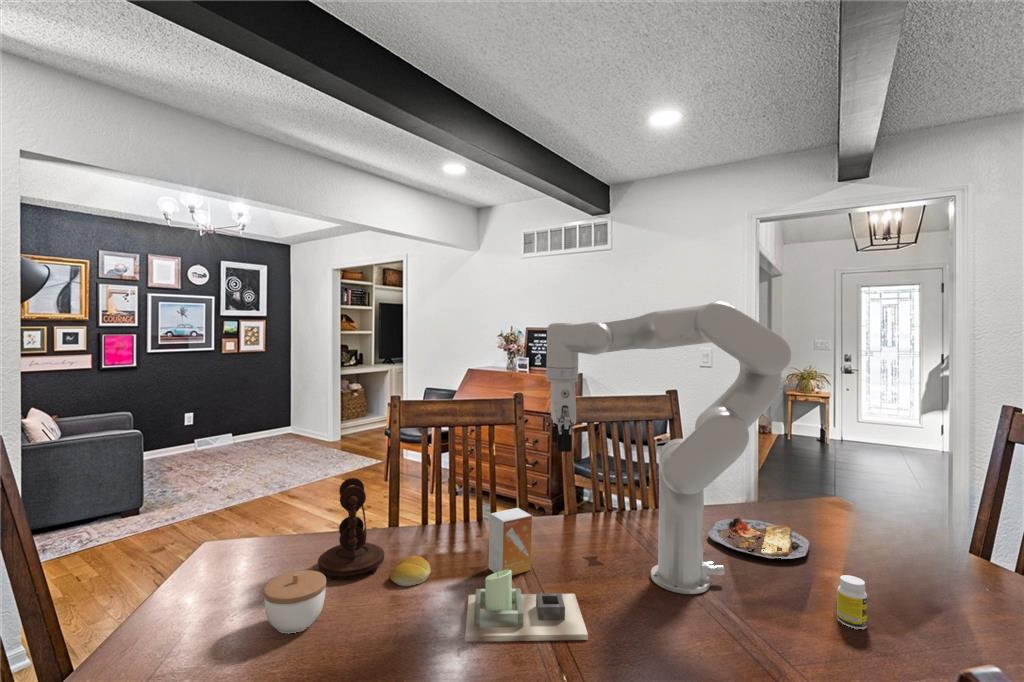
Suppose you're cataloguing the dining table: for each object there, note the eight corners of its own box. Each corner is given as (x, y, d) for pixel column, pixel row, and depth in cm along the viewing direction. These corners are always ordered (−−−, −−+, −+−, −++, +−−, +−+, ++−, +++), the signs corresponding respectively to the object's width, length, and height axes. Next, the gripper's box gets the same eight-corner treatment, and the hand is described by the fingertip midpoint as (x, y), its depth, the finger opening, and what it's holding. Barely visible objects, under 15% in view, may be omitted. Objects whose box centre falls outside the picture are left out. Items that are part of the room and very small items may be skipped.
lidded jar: (281, 608, 98) (281, 560, 97) (334, 609, 97) (335, 562, 97) (251, 641, 87) (251, 588, 87) (311, 643, 87) (311, 590, 86)
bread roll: (385, 586, 107) (385, 567, 107) (401, 567, 116) (402, 550, 116) (421, 590, 105) (421, 571, 105) (435, 570, 114) (435, 553, 114)
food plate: (722, 518, 149) (722, 507, 149) (812, 539, 135) (812, 526, 135) (700, 549, 128) (700, 536, 128) (803, 577, 115) (803, 562, 115)
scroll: (387, 576, 111) (388, 488, 111) (316, 587, 106) (317, 494, 106) (381, 549, 125) (381, 471, 124) (318, 558, 120) (319, 476, 119)
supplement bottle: (867, 633, 91) (868, 588, 91) (837, 625, 94) (838, 581, 94) (865, 621, 95) (866, 577, 95) (836, 613, 98) (837, 571, 98)
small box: (502, 579, 110) (503, 521, 110) (487, 568, 115) (488, 513, 115) (531, 570, 114) (532, 514, 114) (516, 560, 120) (517, 506, 120)
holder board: (574, 598, 102) (574, 581, 102) (587, 639, 88) (588, 620, 88) (468, 599, 101) (468, 582, 101) (465, 641, 87) (465, 622, 87)
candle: (480, 618, 92) (480, 573, 93) (492, 607, 97) (492, 564, 98) (504, 623, 90) (504, 577, 91) (516, 612, 95) (515, 568, 96)
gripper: (584, 378, 108) (583, 455, 109) (571, 372, 126) (570, 439, 126) (550, 377, 108) (549, 455, 108) (542, 372, 125) (541, 439, 126)
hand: (561, 446), depth 117 cm, fingers open, 9 cm apart
